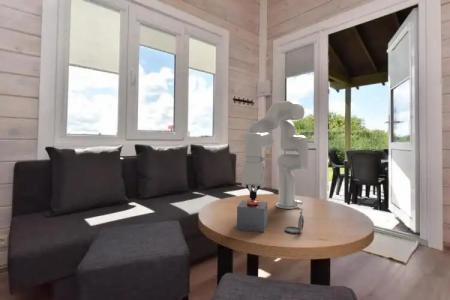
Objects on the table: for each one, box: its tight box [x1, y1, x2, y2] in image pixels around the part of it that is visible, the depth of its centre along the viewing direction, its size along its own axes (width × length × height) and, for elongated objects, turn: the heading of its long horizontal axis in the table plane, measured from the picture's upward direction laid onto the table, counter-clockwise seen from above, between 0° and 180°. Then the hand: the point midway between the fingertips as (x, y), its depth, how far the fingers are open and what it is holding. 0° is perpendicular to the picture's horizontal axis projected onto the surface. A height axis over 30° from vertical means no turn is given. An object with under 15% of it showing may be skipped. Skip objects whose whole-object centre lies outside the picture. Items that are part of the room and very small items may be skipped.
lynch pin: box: [246, 198, 260, 206], centre depth 115 cm, size 6×6×12 cm
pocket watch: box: [284, 209, 305, 234], centre depth 109 cm, size 8×8×10 cm
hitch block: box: [236, 199, 268, 234], centre depth 115 cm, size 12×12×10 cm
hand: (253, 199), depth 115 cm, fingers closed
